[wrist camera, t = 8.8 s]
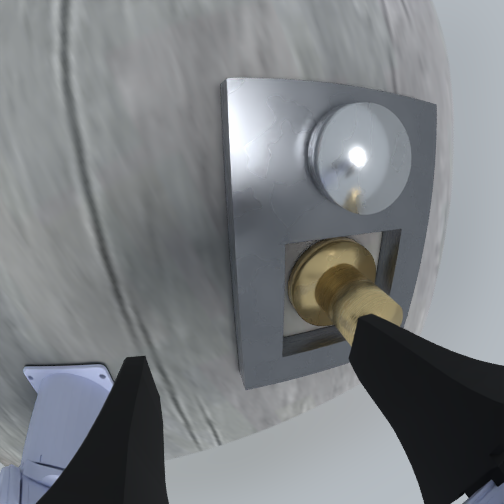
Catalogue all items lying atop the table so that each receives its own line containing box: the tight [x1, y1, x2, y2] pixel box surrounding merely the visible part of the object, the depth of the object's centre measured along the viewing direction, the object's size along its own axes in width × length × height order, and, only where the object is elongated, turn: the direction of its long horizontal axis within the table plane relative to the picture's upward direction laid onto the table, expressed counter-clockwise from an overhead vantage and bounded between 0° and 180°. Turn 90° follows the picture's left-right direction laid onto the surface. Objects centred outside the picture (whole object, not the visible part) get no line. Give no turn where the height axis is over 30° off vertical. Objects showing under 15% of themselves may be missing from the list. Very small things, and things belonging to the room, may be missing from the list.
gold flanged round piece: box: [288, 237, 403, 347], centre depth 18 cm, size 6×6×6 cm
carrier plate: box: [220, 78, 437, 390], centre depth 18 cm, size 20×14×4 cm
